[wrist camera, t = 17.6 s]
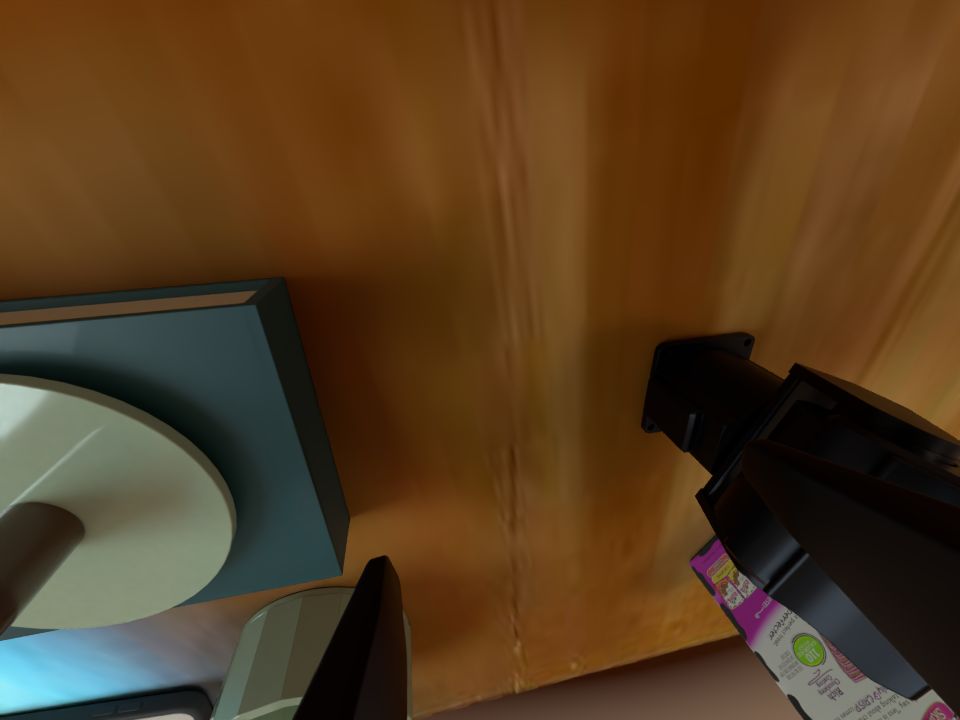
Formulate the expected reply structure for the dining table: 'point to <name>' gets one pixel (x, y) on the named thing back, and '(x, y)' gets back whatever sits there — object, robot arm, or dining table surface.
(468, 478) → the dining table surface
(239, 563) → the book
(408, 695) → the dish
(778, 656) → the candy bar box
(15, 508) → the cover
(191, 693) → the smartphone
